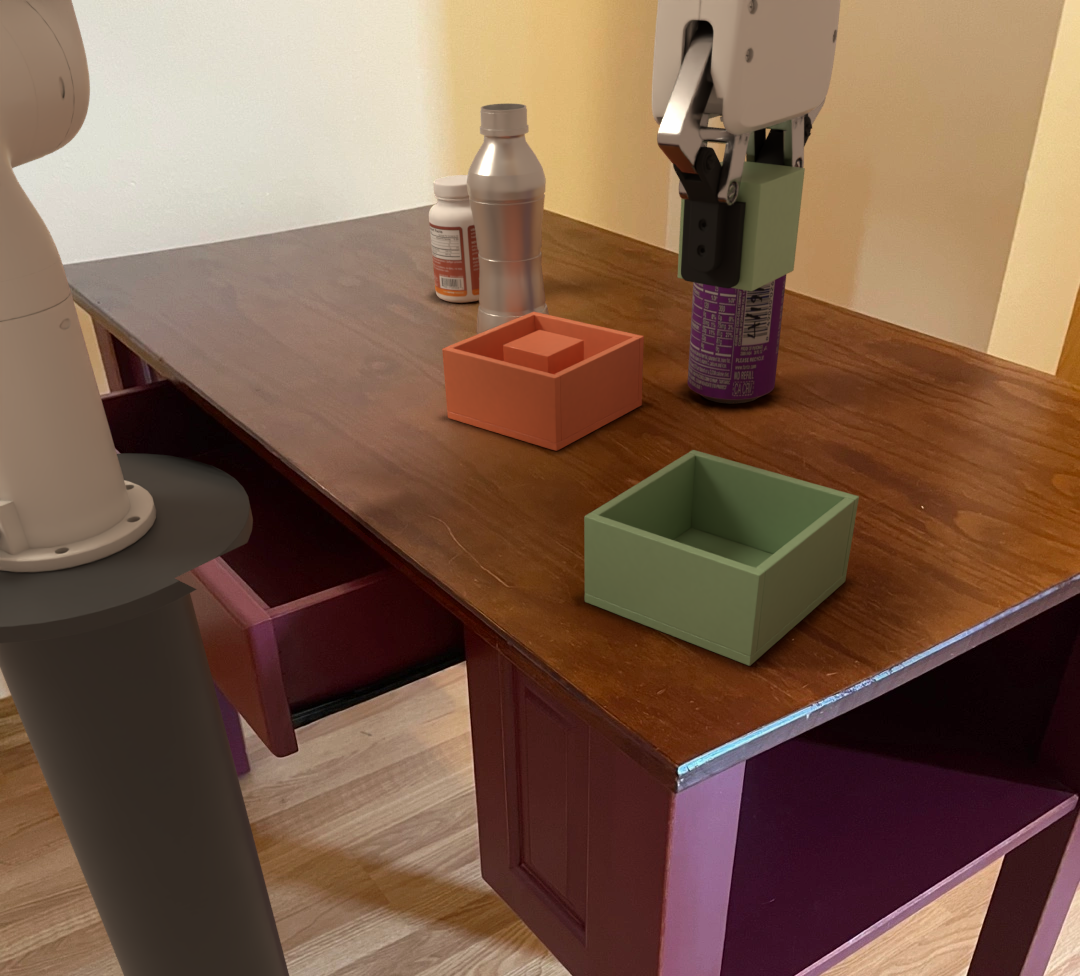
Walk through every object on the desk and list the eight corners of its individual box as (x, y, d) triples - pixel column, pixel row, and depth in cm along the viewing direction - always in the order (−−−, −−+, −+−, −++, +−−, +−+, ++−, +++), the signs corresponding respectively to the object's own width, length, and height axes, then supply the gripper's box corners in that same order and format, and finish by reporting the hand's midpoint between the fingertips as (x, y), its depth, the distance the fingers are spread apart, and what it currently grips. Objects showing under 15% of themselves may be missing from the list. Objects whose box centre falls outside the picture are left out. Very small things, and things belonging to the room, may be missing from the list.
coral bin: (556, 451, 81) (555, 378, 78) (447, 418, 87) (441, 348, 84) (642, 405, 88) (644, 335, 85) (535, 377, 94) (533, 311, 91)
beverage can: (783, 383, 91) (800, 231, 84) (760, 414, 86) (776, 254, 79) (702, 373, 94) (712, 224, 86) (675, 402, 88) (683, 246, 81)
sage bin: (749, 666, 58) (759, 575, 55) (584, 602, 64) (583, 516, 61) (845, 581, 65) (859, 496, 62) (688, 530, 71) (692, 449, 67)
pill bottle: (487, 284, 117) (481, 170, 110) (500, 300, 112) (494, 182, 105) (430, 290, 115) (420, 175, 109) (441, 306, 111) (431, 188, 104)
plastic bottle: (527, 376, 94) (518, 115, 82) (463, 364, 97) (445, 110, 85) (565, 354, 98) (561, 103, 86) (502, 343, 101) (490, 98, 89)
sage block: (751, 291, 55) (761, 184, 52) (677, 278, 58) (682, 174, 54) (793, 270, 58) (805, 167, 55) (721, 258, 60) (728, 159, 57)
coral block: (549, 419, 85) (547, 356, 82) (505, 407, 87) (502, 344, 84) (584, 402, 87) (584, 339, 84) (541, 390, 90) (539, 329, 87)
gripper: (787, -166, 54) (753, 228, 65) (583, -171, 43) (584, 299, 54) (933, -175, 50) (870, 246, 61) (748, -182, 40) (713, 326, 51)
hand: (735, 267), depth 58 cm, fingers closed on sage block, 4 cm apart
